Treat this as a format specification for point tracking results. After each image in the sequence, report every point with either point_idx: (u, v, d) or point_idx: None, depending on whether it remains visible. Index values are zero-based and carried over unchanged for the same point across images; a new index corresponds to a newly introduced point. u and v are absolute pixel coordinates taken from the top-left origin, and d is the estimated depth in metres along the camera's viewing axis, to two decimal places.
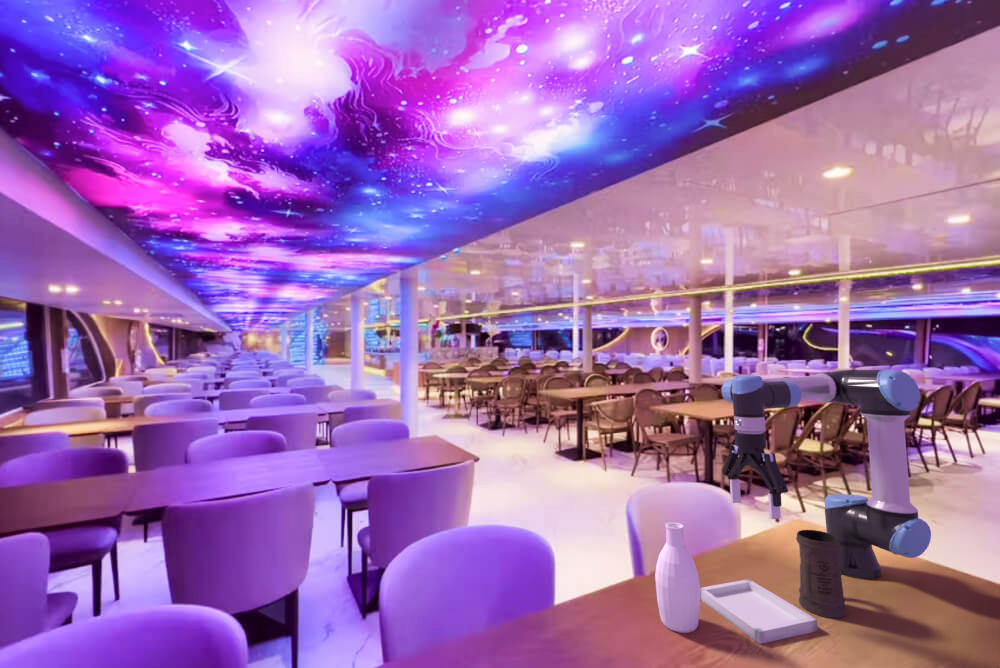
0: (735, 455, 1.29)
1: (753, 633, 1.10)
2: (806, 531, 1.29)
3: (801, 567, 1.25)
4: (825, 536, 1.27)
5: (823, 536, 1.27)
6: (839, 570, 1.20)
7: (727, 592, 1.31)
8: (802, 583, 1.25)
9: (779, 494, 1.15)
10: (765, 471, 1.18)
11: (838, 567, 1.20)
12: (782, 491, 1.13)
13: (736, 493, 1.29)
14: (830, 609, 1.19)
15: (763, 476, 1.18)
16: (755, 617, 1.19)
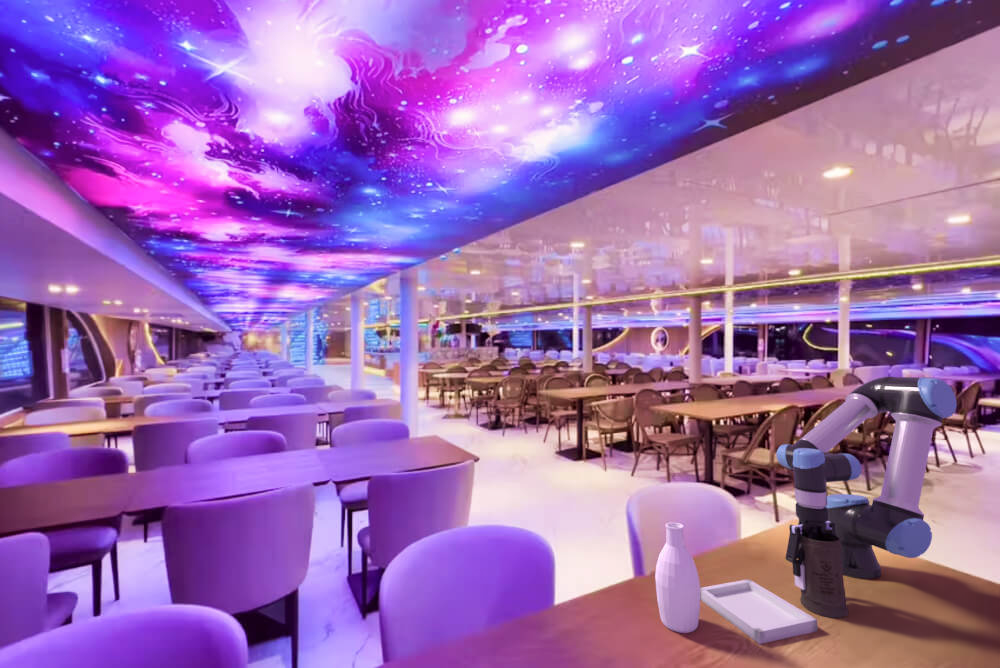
0: (828, 531, 1.28)
1: (753, 633, 1.10)
2: None
3: None
4: None
5: None
6: (841, 570, 1.20)
7: (727, 592, 1.31)
8: None
9: (794, 564, 1.25)
10: None
11: (840, 567, 1.20)
12: (787, 559, 1.25)
13: None
14: (832, 609, 1.19)
15: None
16: (755, 617, 1.19)
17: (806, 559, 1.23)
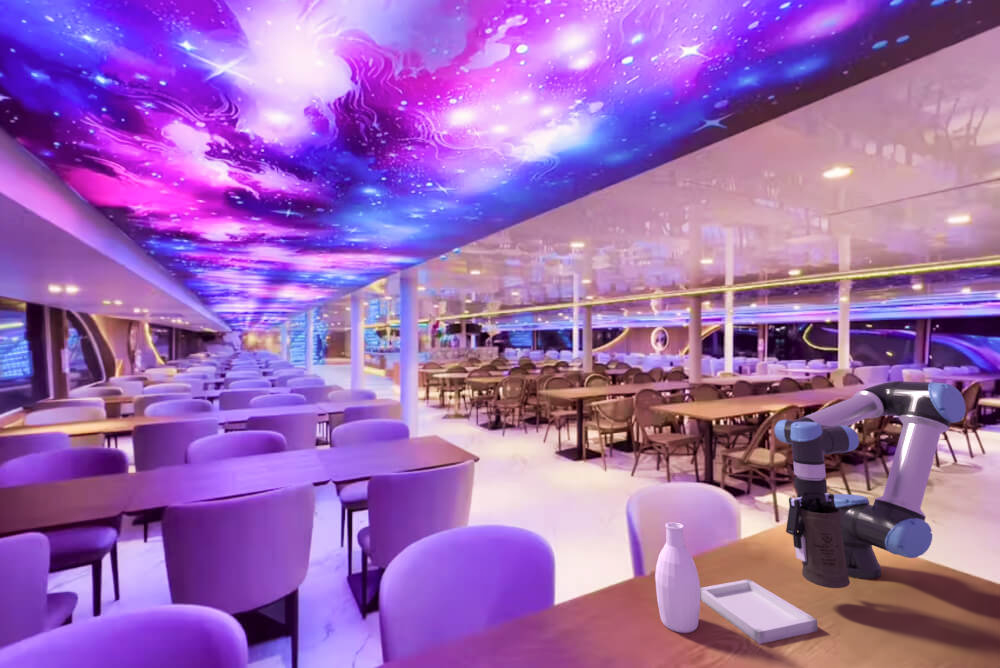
0: (827, 503, 1.29)
1: (753, 633, 1.10)
2: None
3: None
4: None
5: None
6: (841, 540, 1.20)
7: (727, 592, 1.31)
8: None
9: (795, 536, 1.25)
10: None
11: (840, 538, 1.20)
12: (788, 532, 1.26)
13: None
14: (834, 580, 1.19)
15: None
16: (755, 617, 1.19)
17: (807, 532, 1.24)
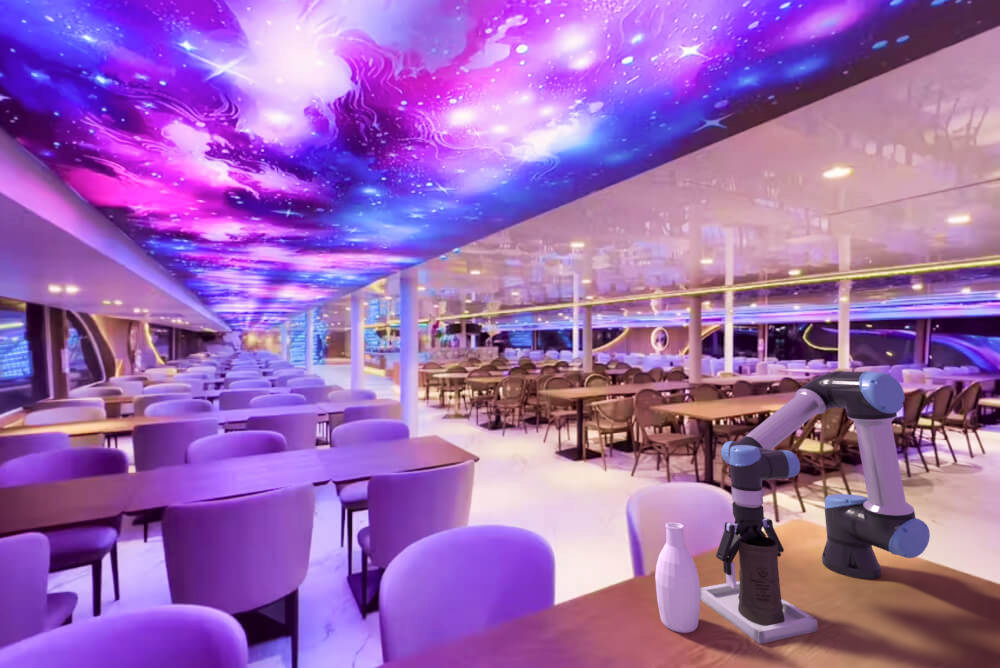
0: (767, 528, 1.24)
1: (753, 633, 1.10)
2: None
3: (740, 573, 1.21)
4: None
5: (762, 541, 1.24)
6: (777, 576, 1.16)
7: (727, 592, 1.31)
8: (741, 590, 1.20)
9: (725, 562, 1.20)
10: (734, 541, 1.22)
11: (776, 573, 1.16)
12: (718, 557, 1.21)
13: None
14: (768, 617, 1.15)
15: None
16: None
17: (743, 565, 1.19)
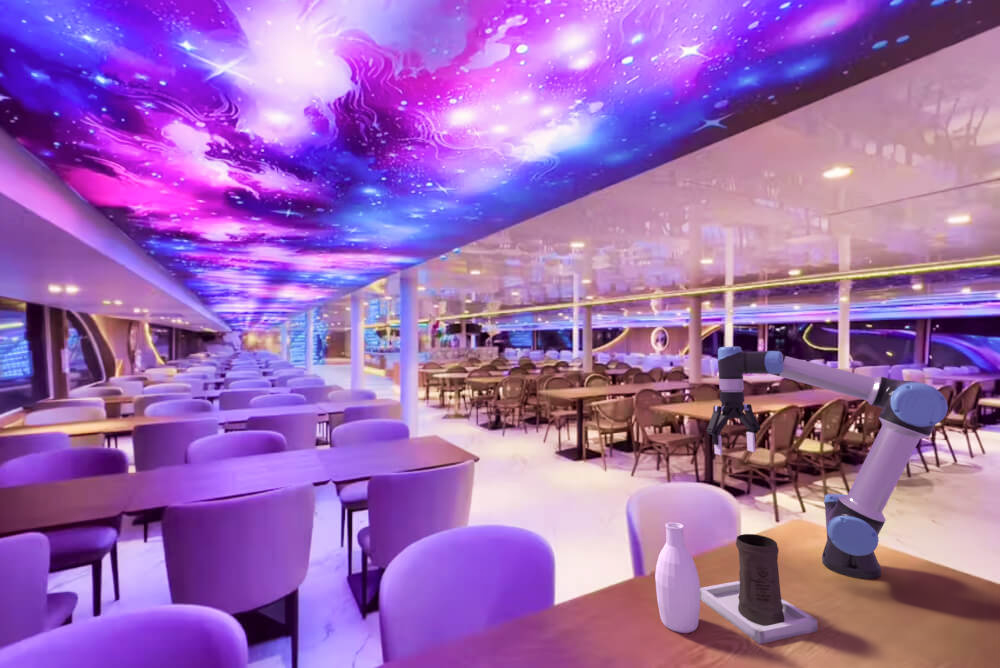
0: (747, 412, 1.56)
1: (753, 633, 1.10)
2: (746, 535, 1.25)
3: (740, 573, 1.21)
4: (764, 540, 1.23)
5: (762, 541, 1.24)
6: (777, 576, 1.16)
7: (727, 592, 1.31)
8: (741, 590, 1.20)
9: (713, 435, 1.52)
10: (720, 419, 1.54)
11: (776, 573, 1.16)
12: (708, 431, 1.52)
13: (750, 443, 1.56)
14: (768, 617, 1.15)
15: None
16: None
17: (743, 565, 1.19)
